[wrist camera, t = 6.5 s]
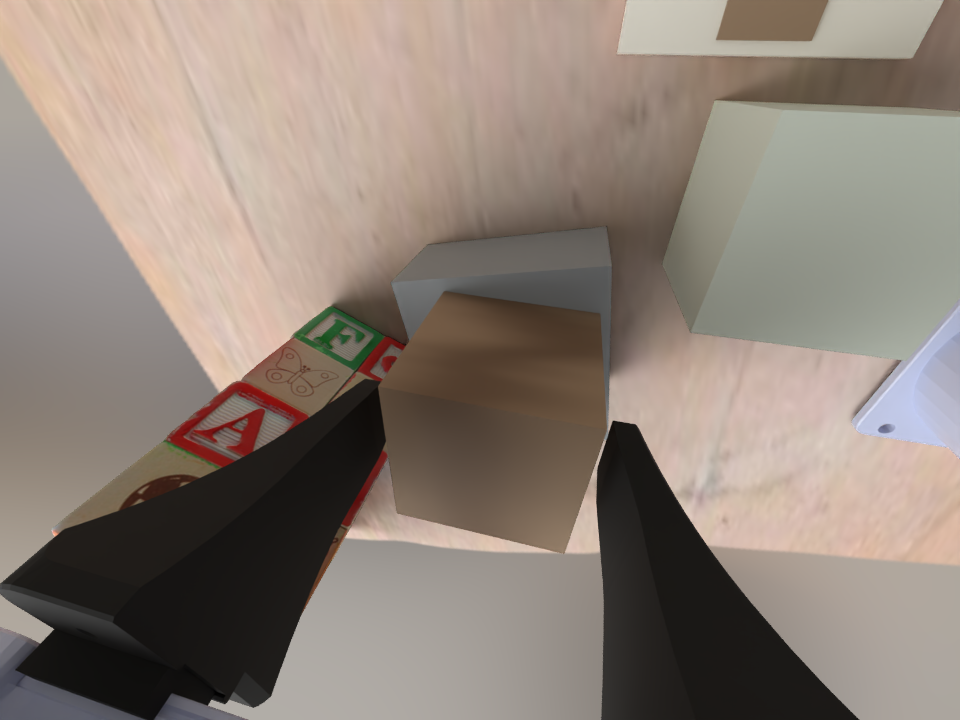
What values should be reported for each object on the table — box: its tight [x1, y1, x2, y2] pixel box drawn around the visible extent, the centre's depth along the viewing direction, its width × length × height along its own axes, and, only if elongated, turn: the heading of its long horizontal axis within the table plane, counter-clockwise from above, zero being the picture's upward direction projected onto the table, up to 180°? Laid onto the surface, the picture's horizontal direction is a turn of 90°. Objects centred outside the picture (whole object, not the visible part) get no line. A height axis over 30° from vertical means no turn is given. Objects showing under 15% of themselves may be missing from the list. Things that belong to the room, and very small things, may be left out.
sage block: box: [662, 100, 960, 361], centre depth 10 cm, size 5×5×5 cm
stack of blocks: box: [52, 306, 406, 615], centre depth 20 cm, size 21×6×12 cm, turn 153°
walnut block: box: [378, 291, 607, 554], centre depth 12 cm, size 5×5×5 cm
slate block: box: [391, 226, 612, 440], centre depth 15 cm, size 7×7×4 cm
